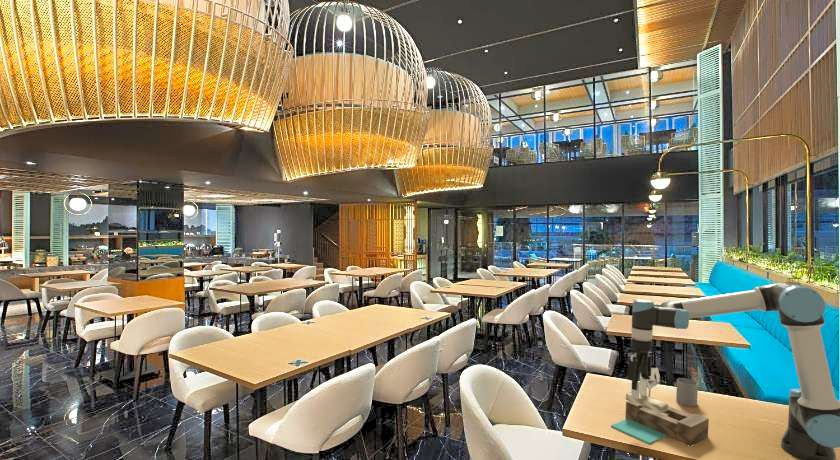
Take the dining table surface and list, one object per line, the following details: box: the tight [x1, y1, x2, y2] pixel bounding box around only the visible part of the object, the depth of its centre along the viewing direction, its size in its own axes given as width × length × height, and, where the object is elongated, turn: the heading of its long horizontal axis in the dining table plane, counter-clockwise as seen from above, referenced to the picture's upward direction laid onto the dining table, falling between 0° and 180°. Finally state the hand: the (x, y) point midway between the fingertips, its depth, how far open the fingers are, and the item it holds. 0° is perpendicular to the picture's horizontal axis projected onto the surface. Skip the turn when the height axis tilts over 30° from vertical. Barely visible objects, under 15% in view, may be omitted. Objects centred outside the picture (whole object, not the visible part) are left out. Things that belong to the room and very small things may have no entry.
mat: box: [610, 419, 667, 445], centre depth 173 cm, size 16×12×1 cm
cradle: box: [624, 396, 710, 447], centre depth 177 cm, size 26×14×8 cm, turn 33°
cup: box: [675, 377, 699, 407], centre depth 202 cm, size 8×8×10 cm
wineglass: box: [639, 364, 661, 397], centre depth 199 cm, size 8×8×18 cm
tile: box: [625, 391, 669, 413], centre depth 170 cm, size 14×5×2 cm, turn 33°
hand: (639, 395), depth 173 cm, fingers closed on tile, 5 cm apart
